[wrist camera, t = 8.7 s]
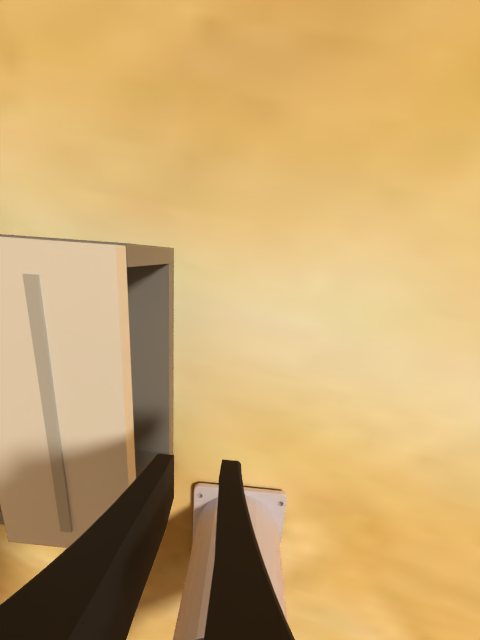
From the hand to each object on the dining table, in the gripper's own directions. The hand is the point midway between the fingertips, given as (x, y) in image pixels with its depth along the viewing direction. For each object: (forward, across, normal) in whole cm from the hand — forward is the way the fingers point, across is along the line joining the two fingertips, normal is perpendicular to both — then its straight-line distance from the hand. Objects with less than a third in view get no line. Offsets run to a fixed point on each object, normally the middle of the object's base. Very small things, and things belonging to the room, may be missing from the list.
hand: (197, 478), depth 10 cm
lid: (+3, +8, 0) cm, 8 cm away
